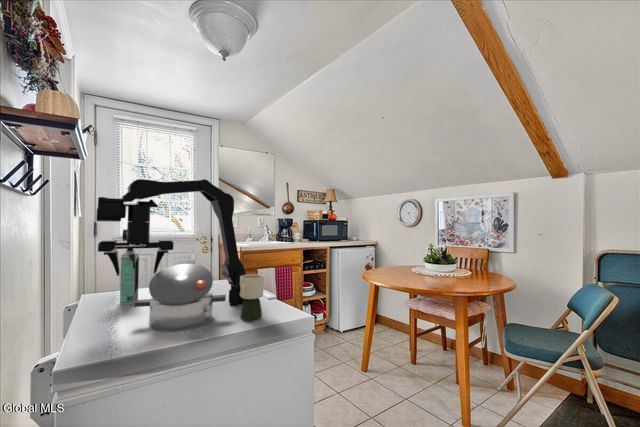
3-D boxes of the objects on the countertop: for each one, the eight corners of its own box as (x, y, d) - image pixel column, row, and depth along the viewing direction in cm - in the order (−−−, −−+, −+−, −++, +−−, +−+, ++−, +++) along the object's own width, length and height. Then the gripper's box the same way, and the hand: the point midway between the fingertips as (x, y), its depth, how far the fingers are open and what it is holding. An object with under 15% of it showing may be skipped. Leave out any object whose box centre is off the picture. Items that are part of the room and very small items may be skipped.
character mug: (250, 312, 99) (250, 272, 99) (269, 314, 97) (270, 273, 97) (231, 323, 88) (231, 278, 89) (252, 325, 86) (253, 280, 86)
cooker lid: (214, 262, 100) (214, 255, 99) (210, 302, 84) (210, 295, 83) (157, 264, 95) (157, 257, 94) (142, 307, 79) (141, 299, 78)
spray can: (141, 301, 109) (142, 246, 110) (127, 305, 104) (128, 248, 105) (130, 300, 111) (131, 246, 112) (116, 304, 106) (117, 247, 106)
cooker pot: (225, 309, 101) (225, 288, 101) (224, 326, 85) (225, 302, 85) (143, 315, 94) (144, 292, 94) (125, 335, 78) (126, 308, 78)
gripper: (172, 222, 101) (170, 268, 101) (104, 221, 92) (102, 272, 92) (174, 222, 91) (172, 274, 91) (98, 221, 82) (96, 278, 82)
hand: (136, 274), depth 89 cm, fingers open, 9 cm apart
